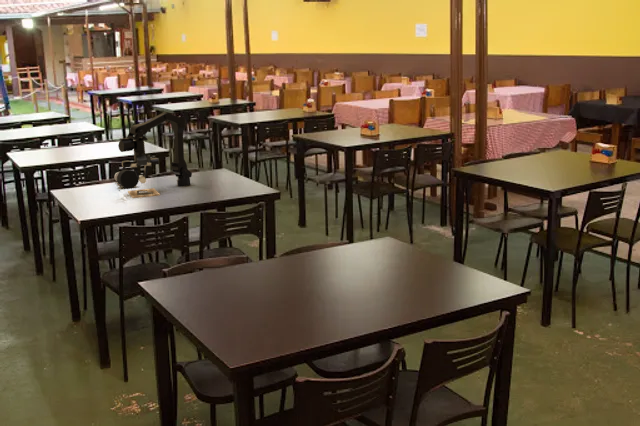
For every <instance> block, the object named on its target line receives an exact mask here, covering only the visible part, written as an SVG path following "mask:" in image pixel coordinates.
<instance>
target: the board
mask: <svg viewBox="0 0 640 426" xmlns="http://www.w3.org/2000/svg"><path fill="white" fill-rule="evenodd" d="M127 193H128V194H129V195H130V197H131V198H132V199H139V198H140V199H141V198H149V197H157V196H161V193H159V192H158V191H157V189H155V187H153V188H152V187H151V188H143V189H133V190H127Z"/></svg>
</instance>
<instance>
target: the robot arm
mask: <svg viewBox="0 0 640 426" xmlns="http://www.w3.org/2000/svg"><path fill="white" fill-rule="evenodd" d="M164 122H167V123H169V124H170V126H171V127H170V128H171V129H172V131H173V137H174V141H173V142H174V144H173V145H174V161H171V162H170V163H171V165H170V166H171V171H172V173H173V174H174V175H175V177H177V179H176V186H177V187H188V186H189V187H190V186H191V178H192V176H193V173H192V172H191V171H190V170H189V169H188V164H187V162H186V160H185V151H184V150H185V149H184V145H185V143H184V131H185V129H186V127H187V126H186V124H187V120H186V118H185V117H184V116H177V115H174V114H171V113H169V112H165V111H163V112H161V113H160V114H158V115H156V116H154V117H152V118H150V119H148V120H147V121H144V122H141V123H137V124H134V125H131V126H130V130H129V132H128V133H127V136H126V138H119V142H118V150H119V152H122V153H123V152H131V151H133V157H134V161H130V160H128V159H127V160H122V161H121V166H122V168H130V169H132V170H133V171H134V172H135V173H136V175H137V177H138V179H139V176H140V173H139V169H138V166H144V168H143V169H144V175H143V176H144V177H145V179H146V180H147V175H148V172H149V169H150V167H152V165H154V166H155V165H160V159H158V158H157V157H151V154H146V149H145V141H148V139H149V138H148V137H146V136H145V135H146V134H147V133H148V132H149V131H150V130H151V129H153V128H155V127H157V126H158V125H161V124H163V123H164Z"/></svg>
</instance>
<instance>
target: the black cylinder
mask: <svg viewBox="0 0 640 426" xmlns="http://www.w3.org/2000/svg"><path fill="white" fill-rule="evenodd" d="M114 180H115V181H116V182H117V183H118V185H119V186H120V187H123V188H126V189H134V188H135V187H136V186H137V185H138V184H139V182H140V181H139V180H138V177H137V175H136V173H135V171H134V170H133V169H132V170H131V169H122V170H121V171H118V172H115V174H114Z"/></svg>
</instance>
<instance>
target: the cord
mask: <svg viewBox="0 0 640 426" xmlns="http://www.w3.org/2000/svg"><path fill="white" fill-rule="evenodd" d="M138 180H139V182H140V184H145V183H146V182H147V178H146V179H145V176H144V175H143V174H139V179H138Z"/></svg>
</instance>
